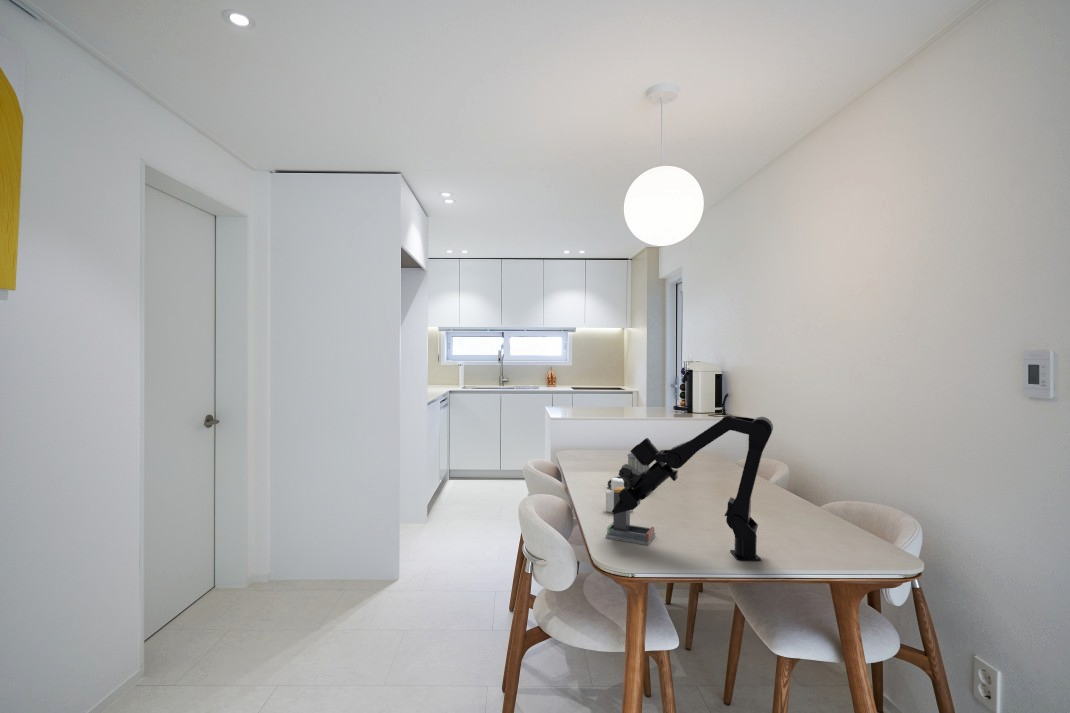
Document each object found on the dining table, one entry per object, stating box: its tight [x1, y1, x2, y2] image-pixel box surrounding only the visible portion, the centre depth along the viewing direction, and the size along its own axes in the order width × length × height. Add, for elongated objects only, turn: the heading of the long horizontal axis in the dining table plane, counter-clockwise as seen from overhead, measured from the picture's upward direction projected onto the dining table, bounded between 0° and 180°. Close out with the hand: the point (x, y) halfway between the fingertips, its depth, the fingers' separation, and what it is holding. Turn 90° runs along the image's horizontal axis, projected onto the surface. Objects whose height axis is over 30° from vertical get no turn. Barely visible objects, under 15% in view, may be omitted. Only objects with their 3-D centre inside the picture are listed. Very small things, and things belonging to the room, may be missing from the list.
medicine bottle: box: [605, 476, 634, 514], centre depth 194 cm, size 7×7×12 cm
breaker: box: [612, 487, 631, 531], centre depth 169 cm, size 4×4×13 cm
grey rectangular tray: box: [605, 522, 656, 546], centre depth 168 cm, size 13×9×3 cm
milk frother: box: [607, 452, 651, 489], centre depth 223 cm, size 14×16×15 cm
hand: (617, 508), depth 170 cm, fingers open, 9 cm apart
